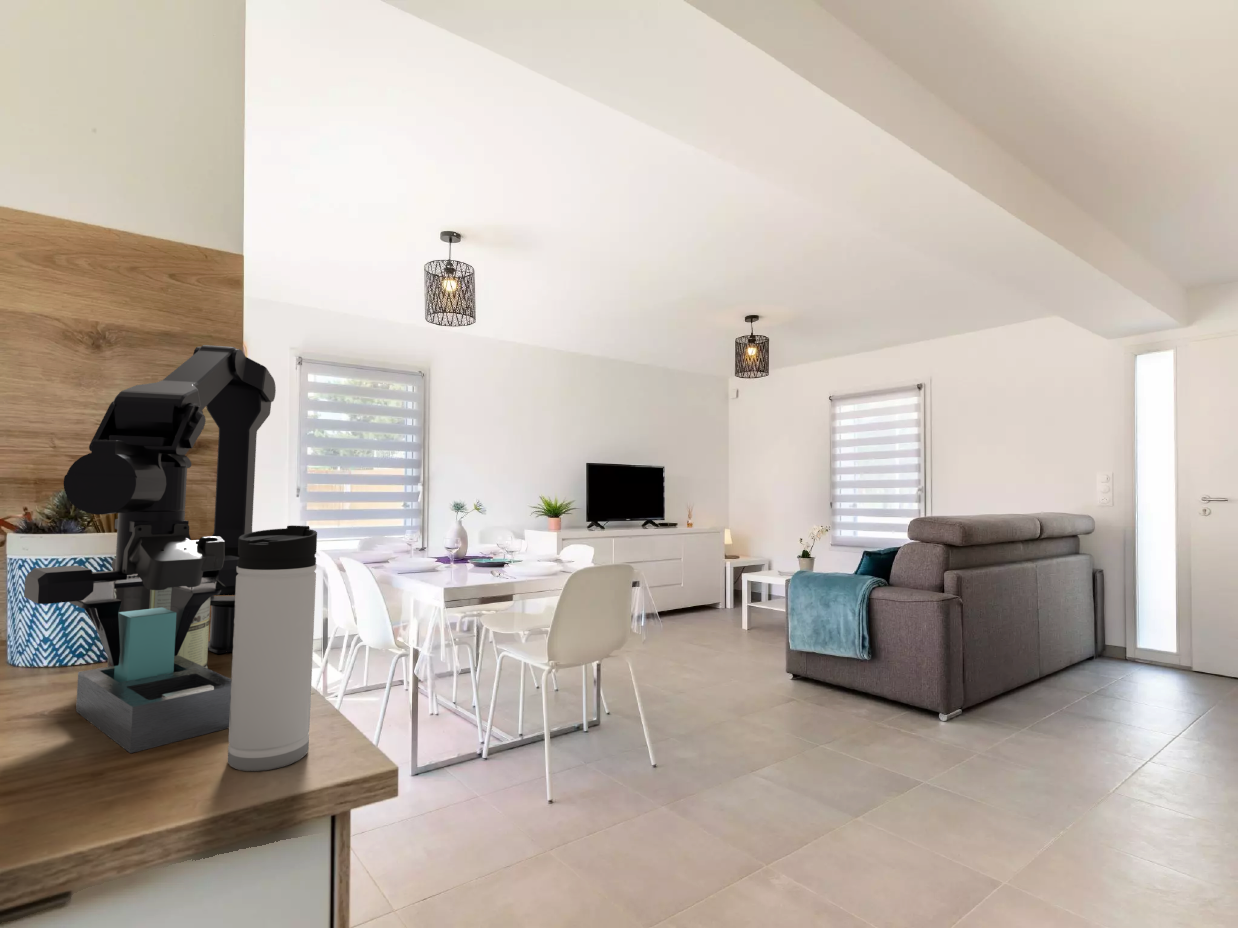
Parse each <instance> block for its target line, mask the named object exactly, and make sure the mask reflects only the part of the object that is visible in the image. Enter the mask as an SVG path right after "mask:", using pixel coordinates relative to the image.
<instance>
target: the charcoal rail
mask: <svg viewBox="0 0 1238 928" xmlns="http://www.w3.org/2000/svg"><path fill="white" fill-rule="evenodd" d="M114 669H115V666H110V667H107V666H106V667H99V668H93V669H88V670H87V669H86V670H82V671H78V672H77V686H76V704H75V705H76V706H75V712H76V713H77V714H78V715H80V716H81V717H82V718H84V719H85V720H87V721H88V722H89V723H90V724H92V725H93V726H94V727H96V728H97V729H98V730H100V732H102V733H103V734H104V735H106V736H107V737H109V739H111V740H112V741H113V742H115V743H116V744H118V745H119V746H120V747H122V748H123V750H125V751H126V752H128V753H129V754H132V753H137V752H141V751H145V750H149V749H153V748H156V747H160V746H164V745H168V744H173V743H177V742H179V741H184V740H188V739H191V738H195V737H199V736H203V735H208V734H211V733H214V732H220V731H222V730H223V731H224V730H226V729H229V719H230V697H231V678H230V677H228V676H226V675H224V674H220V673H219V672H217V671H214V670H212V669H210V668H205V667H203V666H201V665H199V664H197V663H194V662H192V661H190V660H188V659H186V658H183V657H181V656H179V655H177V656H174V672H173V673H168V674H162V675H157V676H151V677H146V678H140V679H135V680H130V681H124V682H117V681H116V680H114Z"/></svg>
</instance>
